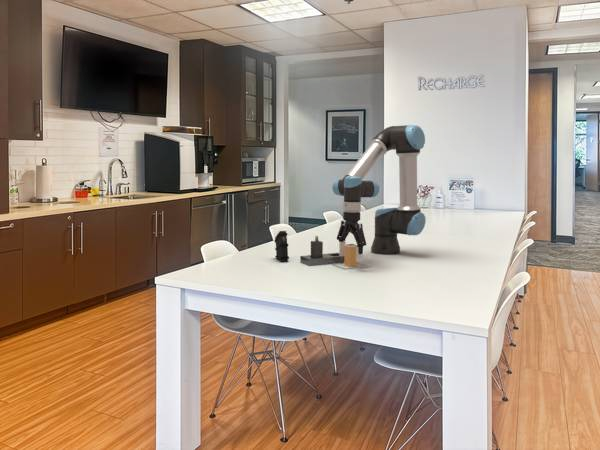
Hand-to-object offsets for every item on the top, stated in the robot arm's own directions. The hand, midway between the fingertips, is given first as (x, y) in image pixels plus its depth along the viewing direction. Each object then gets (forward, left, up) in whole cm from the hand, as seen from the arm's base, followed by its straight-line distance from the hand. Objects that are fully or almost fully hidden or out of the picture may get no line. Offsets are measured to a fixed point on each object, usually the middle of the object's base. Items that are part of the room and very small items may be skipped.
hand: (350, 259), depth 230 cm
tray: (0, 0, -4) cm, 4 cm away
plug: (0, 0, -4) cm, 4 cm away
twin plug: (+11, -12, -3) cm, 16 cm away
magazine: (+22, -26, -4) cm, 34 cm away
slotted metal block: (+6, -12, -4) cm, 14 cm away
